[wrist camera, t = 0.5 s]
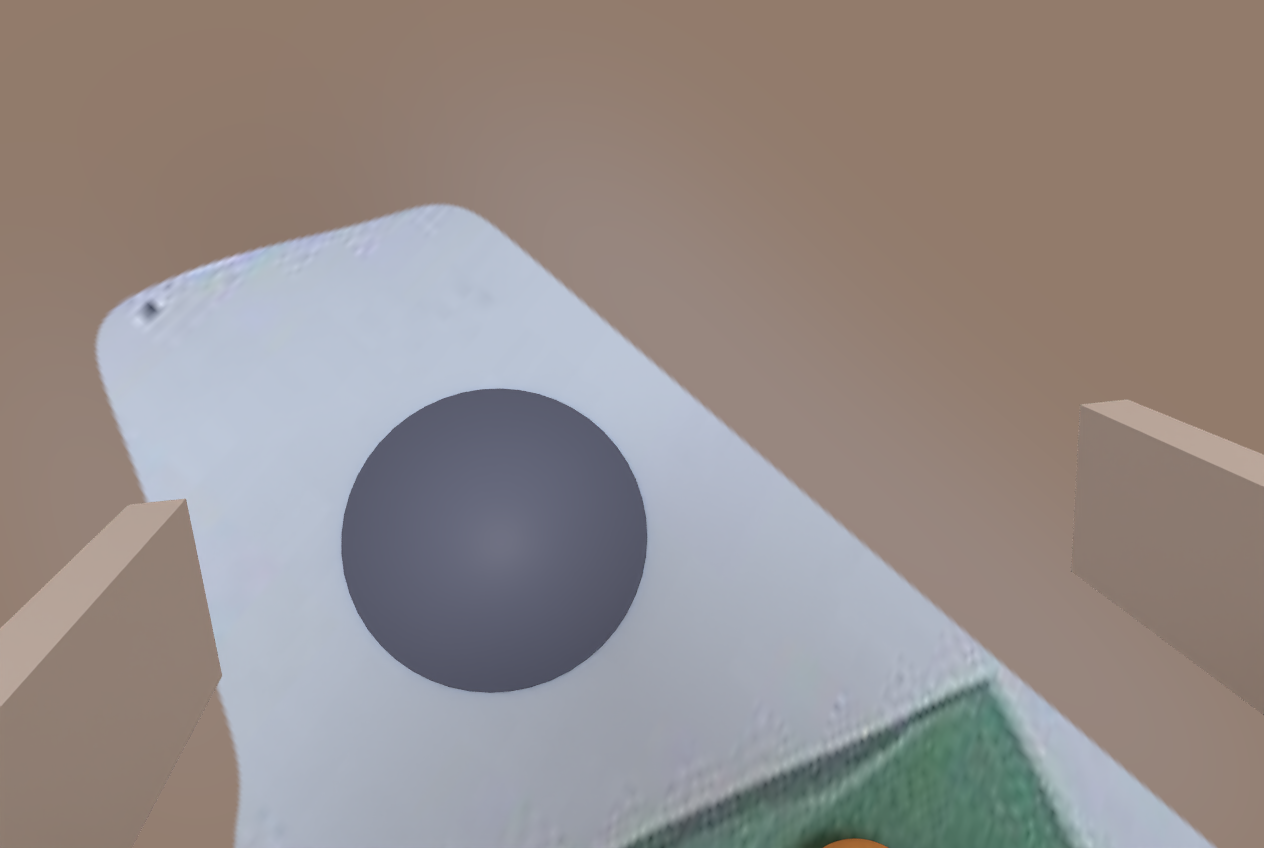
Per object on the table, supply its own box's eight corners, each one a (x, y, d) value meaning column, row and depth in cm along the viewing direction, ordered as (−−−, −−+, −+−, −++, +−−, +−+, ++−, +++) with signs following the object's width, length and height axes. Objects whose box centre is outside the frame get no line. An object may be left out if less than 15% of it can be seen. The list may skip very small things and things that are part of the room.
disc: (708, 537, 47) (709, 537, 47) (488, 760, 44) (487, 760, 44) (502, 332, 49) (502, 330, 49) (278, 534, 46) (277, 533, 46)
